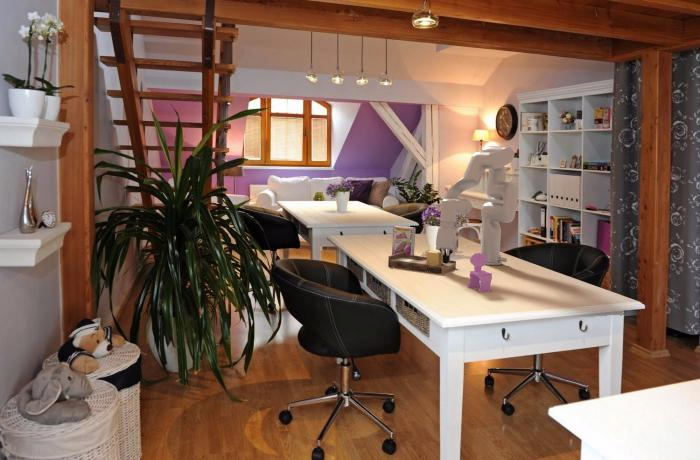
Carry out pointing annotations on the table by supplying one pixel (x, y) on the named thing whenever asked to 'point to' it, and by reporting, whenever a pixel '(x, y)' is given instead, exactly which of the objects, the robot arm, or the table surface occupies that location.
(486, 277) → the toy chair
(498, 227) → the robot arm
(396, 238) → the candy bar box
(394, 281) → the table surface
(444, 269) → the brown wooden tray
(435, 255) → the block
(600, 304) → the table surface
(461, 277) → the table surface
